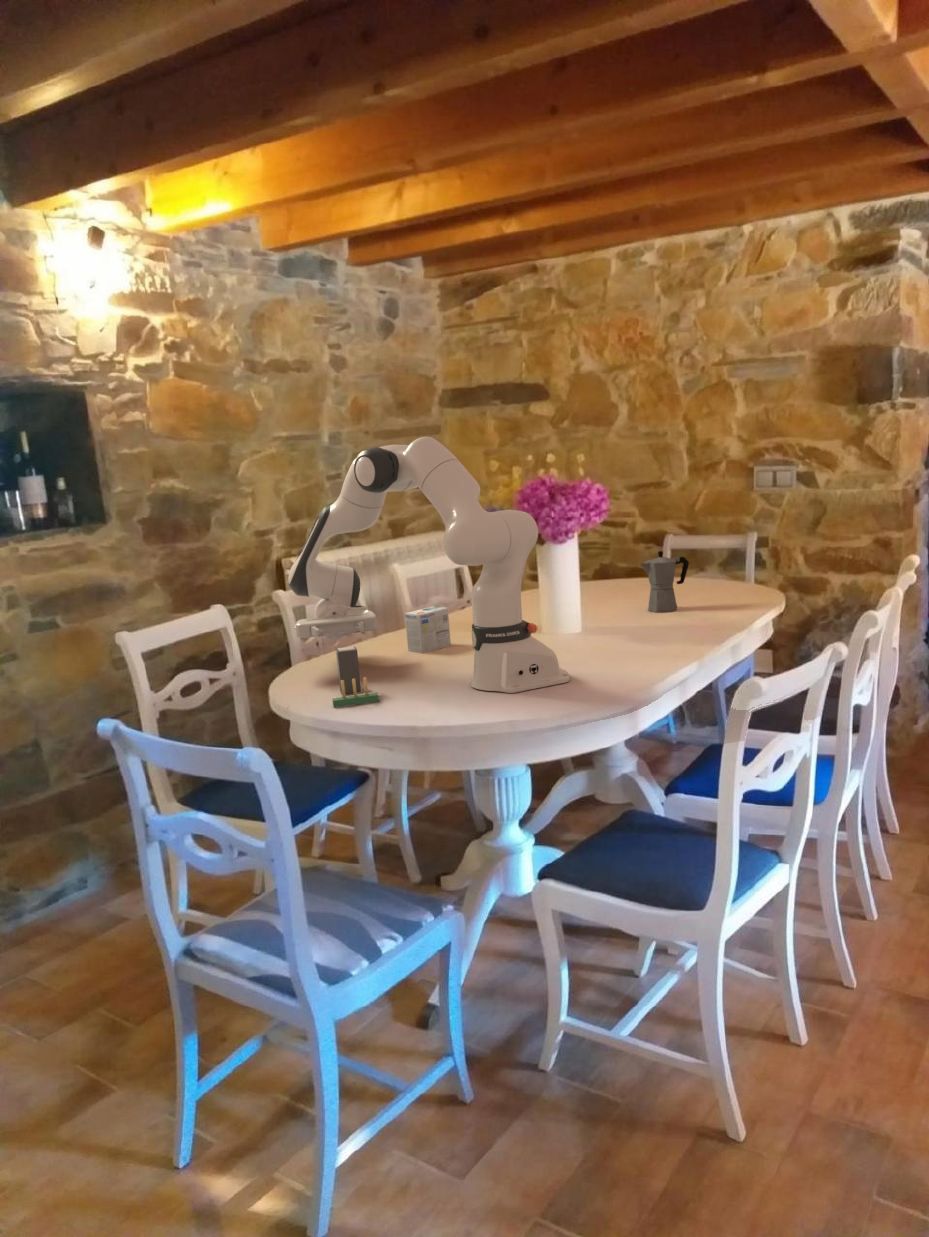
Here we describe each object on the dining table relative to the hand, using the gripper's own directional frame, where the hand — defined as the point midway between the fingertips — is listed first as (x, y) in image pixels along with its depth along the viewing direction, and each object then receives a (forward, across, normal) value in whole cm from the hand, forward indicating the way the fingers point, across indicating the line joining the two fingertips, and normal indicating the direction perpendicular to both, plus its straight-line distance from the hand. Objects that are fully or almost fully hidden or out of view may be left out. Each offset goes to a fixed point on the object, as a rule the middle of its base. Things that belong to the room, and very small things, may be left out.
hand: (339, 631), depth 226 cm
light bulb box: (-22, +26, +12) cm, 36 cm away
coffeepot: (-36, +102, +12) cm, 108 cm away
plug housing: (+13, 0, +12) cm, 17 cm away
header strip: (+24, 0, +12) cm, 26 cm away
